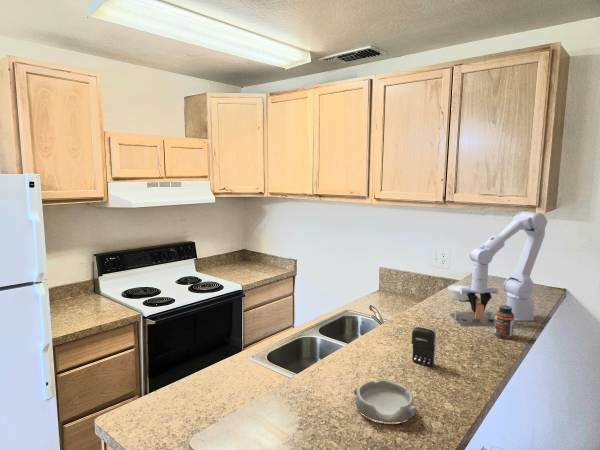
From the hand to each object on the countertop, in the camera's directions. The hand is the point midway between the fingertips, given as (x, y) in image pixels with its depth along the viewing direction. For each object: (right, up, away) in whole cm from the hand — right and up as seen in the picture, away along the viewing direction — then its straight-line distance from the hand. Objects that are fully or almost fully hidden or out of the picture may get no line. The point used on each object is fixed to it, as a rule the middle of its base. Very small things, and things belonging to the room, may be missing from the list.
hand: (477, 310), depth 155 cm
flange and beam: (-1, -4, +1) cm, 4 cm away
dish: (-51, -13, -58) cm, 78 cm away
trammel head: (0, -4, 0) cm, 4 cm away
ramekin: (+5, -1, +28) cm, 29 cm away
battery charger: (-34, -9, -34) cm, 49 cm away
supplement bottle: (+2, -6, -15) cm, 16 cm away
